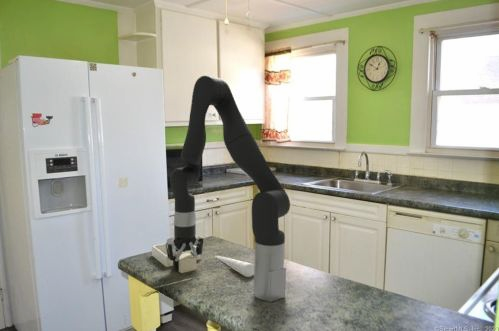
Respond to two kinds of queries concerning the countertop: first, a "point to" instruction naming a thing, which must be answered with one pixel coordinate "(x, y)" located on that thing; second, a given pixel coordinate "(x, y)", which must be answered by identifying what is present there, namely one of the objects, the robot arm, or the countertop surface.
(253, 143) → the robot arm
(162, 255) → the box
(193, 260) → the carton
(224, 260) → the unicorn horn
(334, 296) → the countertop surface
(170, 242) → the tin can
